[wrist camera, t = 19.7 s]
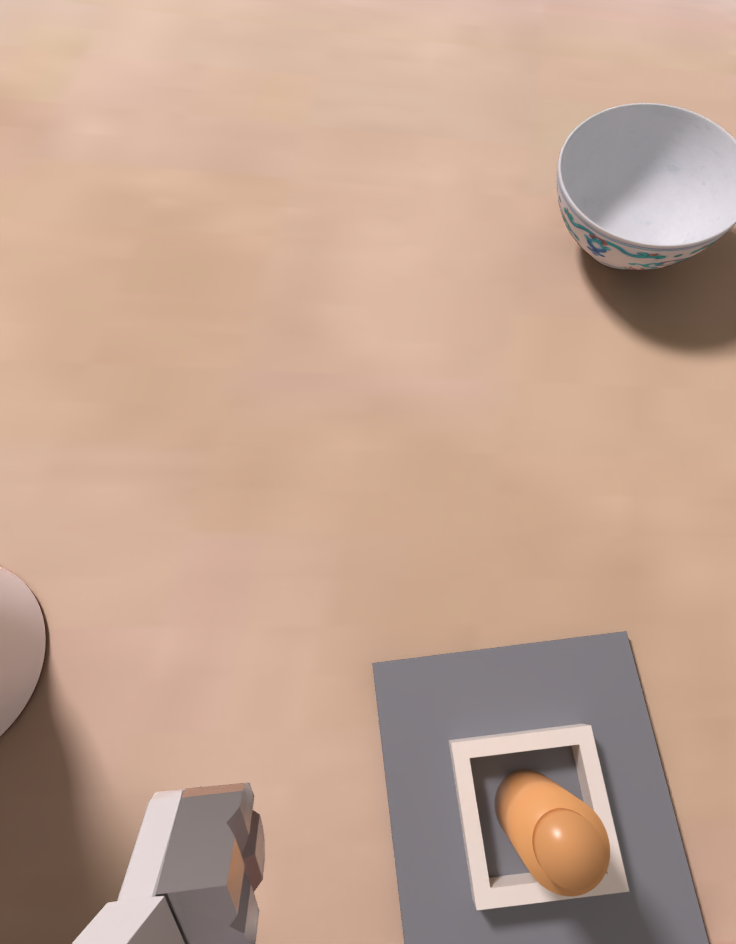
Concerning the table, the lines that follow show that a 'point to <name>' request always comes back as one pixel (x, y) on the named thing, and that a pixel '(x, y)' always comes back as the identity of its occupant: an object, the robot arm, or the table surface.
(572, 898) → the holder
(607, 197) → the chinaware
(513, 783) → the orange cylinder
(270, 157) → the table surface
